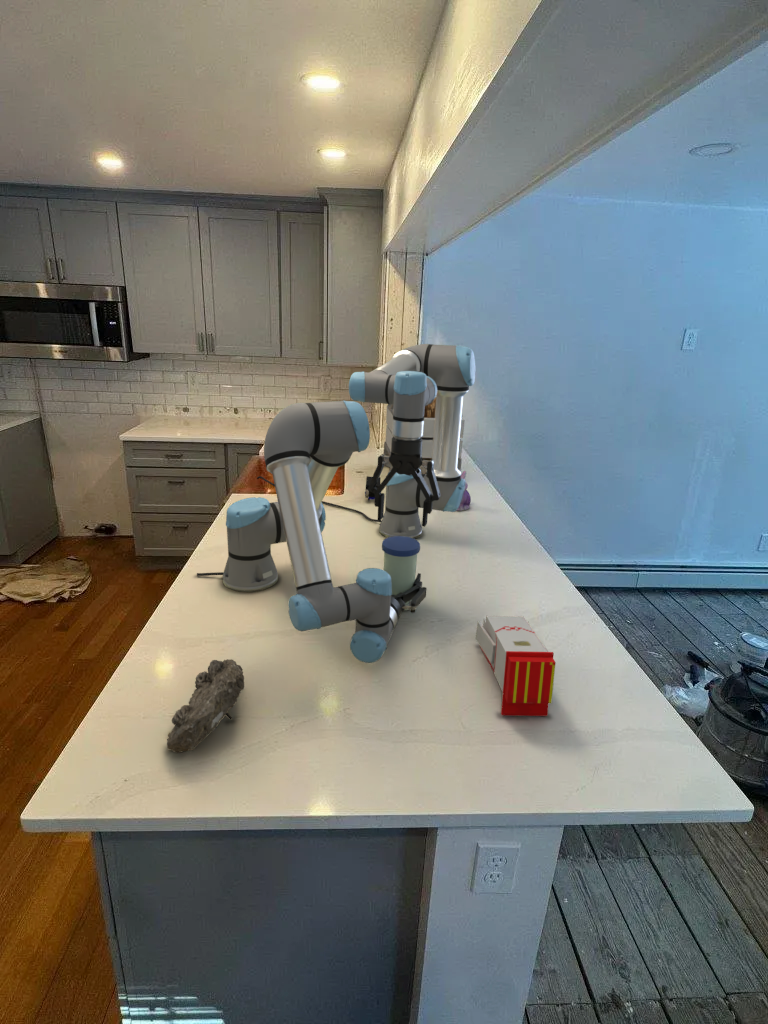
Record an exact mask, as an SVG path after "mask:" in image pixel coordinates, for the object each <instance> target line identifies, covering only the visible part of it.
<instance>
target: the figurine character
mask: <svg viewBox="0 0 768 1024" xmlns="http://www.w3.org/2000/svg"><path fill="white" fill-rule="evenodd" d="M372 478H373V476H368V475H367V476H366V479H365V489H364V490H365V491H364V498H365V499H367V502H370V501H371V500H375V494H374V493H372V492H369V491H368V487H369V485H370V482H371V480H372ZM380 484H381V476H380V477H379V480H378V482H377V484H376V487H377V488H378V487H379V485H380Z"/></svg>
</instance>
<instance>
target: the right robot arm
mask: <svg viewBox="0 0 768 1024" xmlns="http://www.w3.org/2000/svg"><path fill="white" fill-rule="evenodd" d="M349 378H350V379H349V382H348V394H349V397H350V399H351V400H352V401H354V402H361V403H364V404H365V403H372V404H381V405H388V404H392V405H393V424H392V435H393V436H394V437H393V438H392V443H391V455H390V456H385V455H384V453H382V454H380V455H379V456H378V457H377V464H376V465H377V466H376V467H375V470H374V473H373V475H372V477H373V478H372V480H371V482H370V485H369V487H368V491H369V492H372V493H374V494H375V499H374V507H377V519H375V518H370V517H369V516H367V515H366V514H365V513H364V512H362V511H360V510H358V509H354V508H350V507H346V506H344V505H343V506H342V505H339V504H336V503H332V502H327V501H325V500H324V501H323V500H322V504H323V505H328V506H332V507H335V508H338V509H339V508H340V509H343V510H346V511H351V512H355V513H357V514H359V515H362V516H363V517H364V518H365V519H367V520H368V521H370V522H375V523H379V526H378V533H379V534H380V535H381V536H382V537H385V538H389V537H394V536H404V537H410V538H413V539H415V540H416V539H418V538H420V537H421V536H422V535H423V528H425V527H426V526H427V524H428V517H429V516H428V515H431V514H432V511H439V512H440V511H441V512H448V513H449V512H450V513H455V512H456V511H458V510H457V509H458V507H459V505H460V502H461V499H462V496H463V492H464V488H465V480H466V478H465V479H463V478H462V479H461V475H462V471H461V472H460V471H459V470H458V468H457V463H458V451H459V440H460V439H461V438H460V428H461V418H463V403H464V396H465V395H466V394H467V393H468V392H469V390H470V387H472V386H474V385H475V382H476V357H475V353H474V350H473V349H472V348H471V347H469V346H464V345H455V344H454V345H453V344H432V343H419V344H415V345H411V346H408V347H405V348H403V349H401V350H399V351H397V352H396V353H395V354H394V355H393V356H392V357H391V359H389V360H388V361H387V362H385V363H383V364H382V365H380V366H378V367H377V368H375V369H373V370H371V371H369V372H366V371H355V372H353V373H352V374H351V375H350V377H349ZM435 397H436V407H435V422H434V436H433V450H432V460H430V461H428V460H423V459H422V441H423V440H422V439H421V437H422V436H423V426H424V410H425V406H427V405H429V404H430V403H431V402H432V401H433V400H434V399H435ZM387 461H389V462H390V463H391V465H392V467H393V468H392V470H391V471H390V470H389V472H388V473H387V475H386V476H385V478H384V479H383V480H382V481H381V482H380V485H379V487H378V488H377V487H376V484H377V482H378V480H379V477H381V474H382V472H383V470H384V467H385V466H384V465H385V464H386V463H387ZM421 465H424V466H423V467H424V469H425V470H426V472H425V473H422V469H421V467H422V466H421ZM259 479H261V480H263V481H264V482H266V483H268V484H270V485H271V486H273V487H275V484H274V482H271V481H270V480H268V479H266V478H265V477H264V476H262V475H261V476H260V475H259V476H257V477H256V480H259ZM384 489H385V493H384V492H383V491H384ZM384 508H385V509H384ZM419 509H422V520H421V518H420V515H419ZM421 521H422V522H421Z"/></svg>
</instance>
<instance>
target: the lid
mask: <svg viewBox="0 0 768 1024" xmlns="http://www.w3.org/2000/svg"><path fill="white" fill-rule="evenodd" d="M381 550H382V551H383V553H384V552H385V553H387V554H389V555H392V556H398V557H408V556H413V555H416V554H417V555H418V554H419V553H420V551H421V543H420V542H419V540H417V539H416V538H415V539H413V538H410V537H404V536H394V537H389V538H387V537H385V538H384V539H383V540H382V542H381Z"/></svg>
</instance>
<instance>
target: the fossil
mask: <svg viewBox="0 0 768 1024" xmlns="http://www.w3.org/2000/svg"><path fill="white" fill-rule="evenodd" d="M243 670H244V669H243V667H242V665H240V664H237V662H236V661H235V660H234V659H232V658H231V659H227V658H226V659H224V660H223V661H222V660H217V659H212V660H211V661H210V663H209V665H208V666H207V671H201V672H199V673H198V674H197V675H196V676H195V680H194V684H195V685H194V687H195V689H194V690H193V693H192V694H191V697H190V698H189V700H188V704H184V705H182V706H181V707H180V709H177V710H176V711H175V713H174V715H173V716H172V718H171V723H172V724H173V727H172V730H171V731H170V732H168V734H167V738H166V741H167V742H166V745H167V749H168V750H169V751H173V752H174V753H176V754H178V753H182V752H188V751H189V752H192V751H193V750H195V748H196V747H197V746H199V744H200V743H201V742H203V741H204V740H205V739H206V738H207V737H208V736H209V735H210V734H211V733H212V732H214V730H215V729H217V727H218V726H219V724H220V722H221V721H222V720H223V719H224V718H225V716H226V717H227V719H229V720H233V717H232V715H230V714H229V710H230V709H231V708H234V706H235V704H236V703H237V702H238V699H239V697H240V695H241V693H242V691H243V690H245V689H244V688H245V675H244V671H243Z"/></svg>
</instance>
